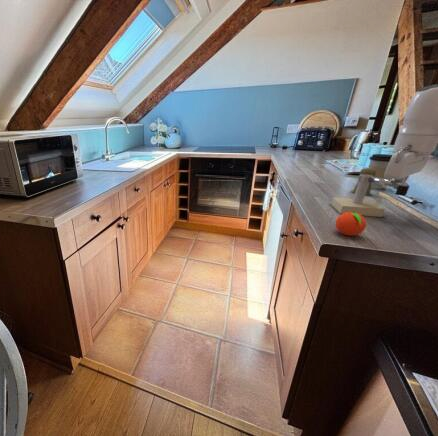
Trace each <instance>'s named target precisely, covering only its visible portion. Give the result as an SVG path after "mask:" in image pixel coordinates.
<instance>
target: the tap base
mask: <svg viewBox="0 0 438 436" xmlns="http://www.w3.org/2000/svg"><path fill="white" fill-rule="evenodd" d="M368 185H369V182H361V181H359V183H358V186H357V189H356V192H355V194H354V195H353V198H348V197H332V200H331V203H330V205H331V207H333V208H334V209H335V210H336V211H337V212H338V213H339V214H340V215H341V214H343V213H347V212H355V213H358V214H360V215H361V216H363V217H364V216H366V217H376V218H382V217H383V214H384V212H385V210H386V209H385V208H384V207H382V206H381V205H379V204H378V203H377V202H375V201H374V200H372V199H366V195H365V194H366V191H367V188H368Z"/></svg>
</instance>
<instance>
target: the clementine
mask: <svg viewBox="0 0 438 436" xmlns="http://www.w3.org/2000/svg"><path fill="white" fill-rule="evenodd" d="M335 228H336V230H337V231H338V232H339V233H341V234H342V235H344V236H350V237H354V236H357V235H360V234H361V233H363V232H364V230H365V229H366V228H367V221H366V219H365V217H364V216H363V215H360V214H358V213H355V212H347V213H343V214H340V215H339V216H337V218H336V219H335Z"/></svg>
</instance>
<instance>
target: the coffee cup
mask: <svg viewBox="0 0 438 436" xmlns="http://www.w3.org/2000/svg"><path fill="white" fill-rule="evenodd" d="M392 155H393V154H385V153H374V154H372V155H371V156H370V157H369V160H370V161H369V164H368V168H371V169H375V170H376V175H375V176H374V177H378V178H383V179H388V178H385V176H384V174H385V171H386V169H387V166H388V164H389V161H390V159H391V157H392ZM383 187H384V185H381V184H376V183H372V185H371V190H381V189H383Z"/></svg>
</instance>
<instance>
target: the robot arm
mask: <svg viewBox="0 0 438 436" xmlns="http://www.w3.org/2000/svg"><path fill="white" fill-rule="evenodd" d="M437 148H438V83H437V84H436V83H435V84H431V85H428V86H427V85H426V86H424V87H421V88H420V89H418V90H417V91H416V92H415V93H414V95H413V97H412V98H411V101H410V102H409V104H408V107H407V109H406V111H405V114H404V116H403V124H402V126H401V128H400V129H399V131H398V133H397V136H396V139H395V142H394V143H393V146H392V149H393V150H394V151H396V152H394V153H393V154H391V155H392V157H391V159H390V161H389V164H388V166H387V169H386V171H385V174H384V176H385V178H387V179H390V180H394V181H399V182H404V183H407V181H408V180H409V178H410V176H411V175H414V174H417V173H419V172H421V171H422V170H423V169H424V168H425V166H426V164H427V163H428V161H429V159H430V157H431V155H432V153H433V152H435V150H436V149H437ZM392 188H393V189H394V190H397V188H395V187H392Z"/></svg>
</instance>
